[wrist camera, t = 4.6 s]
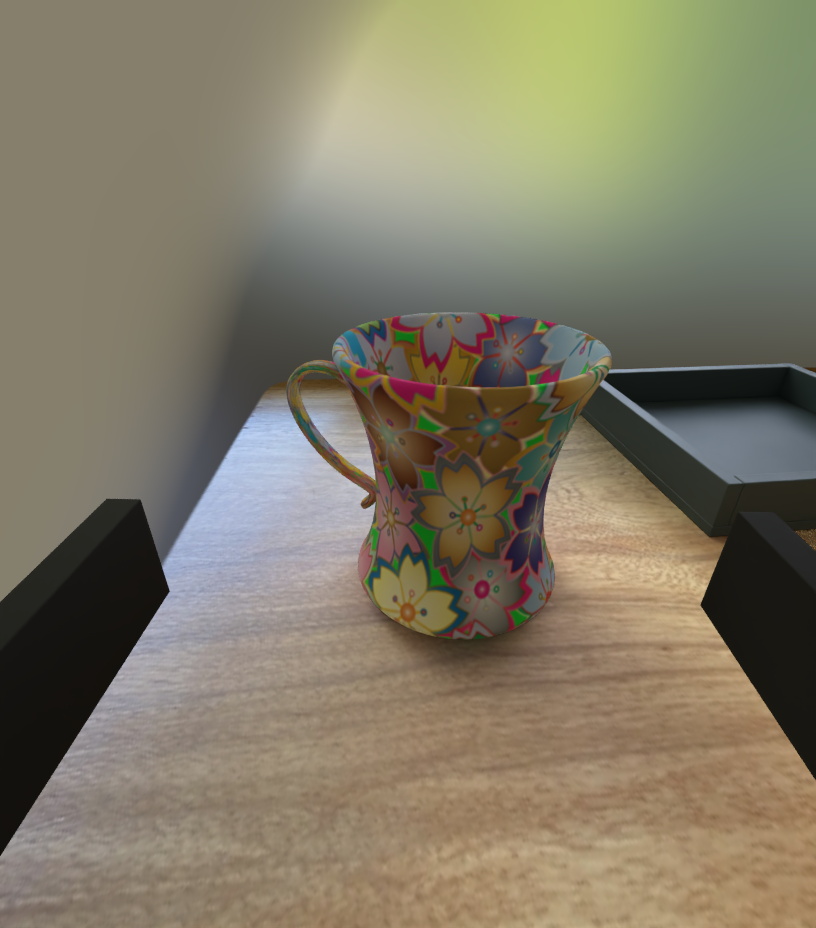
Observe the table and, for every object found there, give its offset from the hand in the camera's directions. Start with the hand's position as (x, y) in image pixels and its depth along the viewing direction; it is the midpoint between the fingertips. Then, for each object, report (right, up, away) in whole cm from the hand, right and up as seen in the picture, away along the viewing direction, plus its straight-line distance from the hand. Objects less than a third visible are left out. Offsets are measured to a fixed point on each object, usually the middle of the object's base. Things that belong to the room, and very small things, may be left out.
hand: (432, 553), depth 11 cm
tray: (+22, +3, +21) cm, 31 cm away
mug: (0, -3, +11) cm, 12 cm away
